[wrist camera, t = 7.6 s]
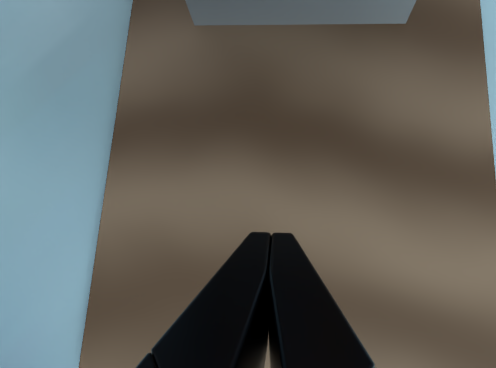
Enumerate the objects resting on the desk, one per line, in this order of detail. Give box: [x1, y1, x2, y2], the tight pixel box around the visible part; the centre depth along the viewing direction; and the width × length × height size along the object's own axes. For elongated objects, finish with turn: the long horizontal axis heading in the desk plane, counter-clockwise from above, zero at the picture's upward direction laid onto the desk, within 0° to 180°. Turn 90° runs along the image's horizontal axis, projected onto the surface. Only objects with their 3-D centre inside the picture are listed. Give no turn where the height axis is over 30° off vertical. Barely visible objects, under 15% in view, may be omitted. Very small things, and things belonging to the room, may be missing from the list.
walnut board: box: [79, 0, 496, 368], centre depth 16 cm, size 20×15×1 cm
